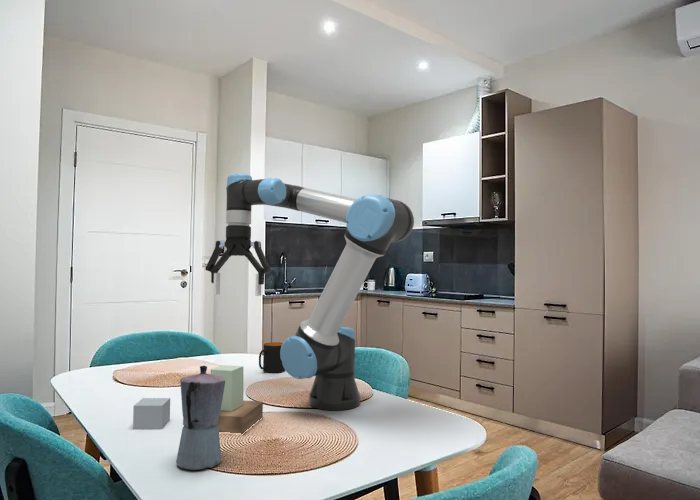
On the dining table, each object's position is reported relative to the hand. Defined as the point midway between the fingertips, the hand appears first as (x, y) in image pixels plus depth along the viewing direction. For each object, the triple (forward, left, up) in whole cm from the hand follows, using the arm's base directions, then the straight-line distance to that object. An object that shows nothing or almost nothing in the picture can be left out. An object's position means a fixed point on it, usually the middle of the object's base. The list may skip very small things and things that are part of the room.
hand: (237, 295), depth 156 cm
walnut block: (-8, +22, -32) cm, 40 cm away
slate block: (+10, +27, -32) cm, 43 cm away
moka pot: (-14, +47, -32) cm, 59 cm away
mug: (+4, -40, -32) cm, 51 cm away
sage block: (-8, +22, -27) cm, 36 cm away
